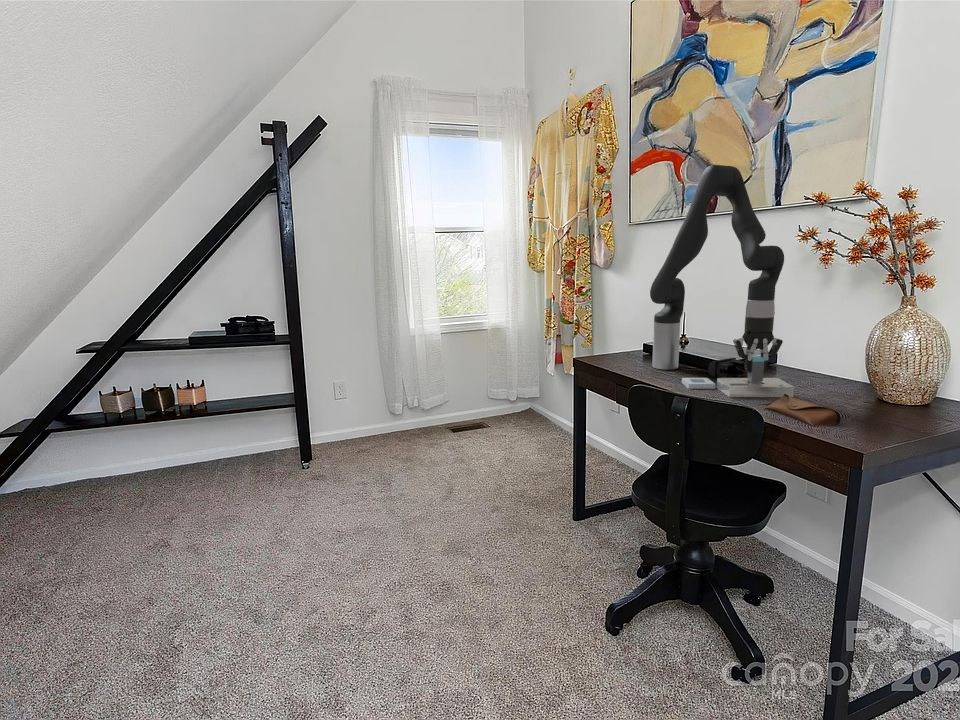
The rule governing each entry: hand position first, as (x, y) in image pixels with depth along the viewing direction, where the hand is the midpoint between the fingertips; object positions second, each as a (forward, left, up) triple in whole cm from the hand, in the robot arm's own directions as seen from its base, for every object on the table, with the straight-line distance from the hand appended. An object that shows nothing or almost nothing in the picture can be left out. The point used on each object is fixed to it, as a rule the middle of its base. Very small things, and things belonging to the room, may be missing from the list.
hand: (755, 372), depth 162 cm
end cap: (-21, -1, -8) cm, 22 cm away
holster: (-8, -14, -7) cm, 18 cm away
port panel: (0, 0, -7) cm, 7 cm away
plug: (0, 0, -2) cm, 2 cm away
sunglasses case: (+20, +4, -8) cm, 22 cm away
